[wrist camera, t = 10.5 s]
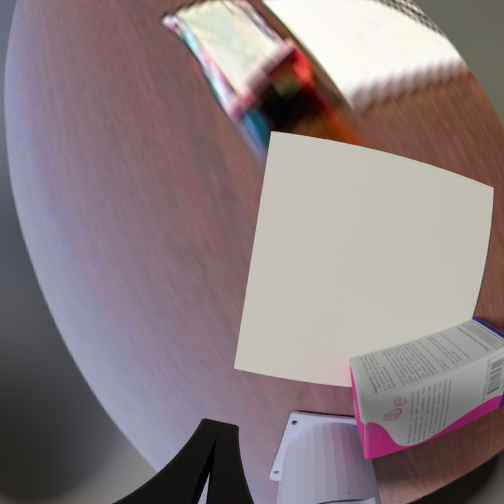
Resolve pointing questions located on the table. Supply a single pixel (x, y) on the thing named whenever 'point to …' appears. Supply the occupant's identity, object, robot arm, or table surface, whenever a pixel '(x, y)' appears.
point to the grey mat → (356, 257)
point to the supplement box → (427, 387)
